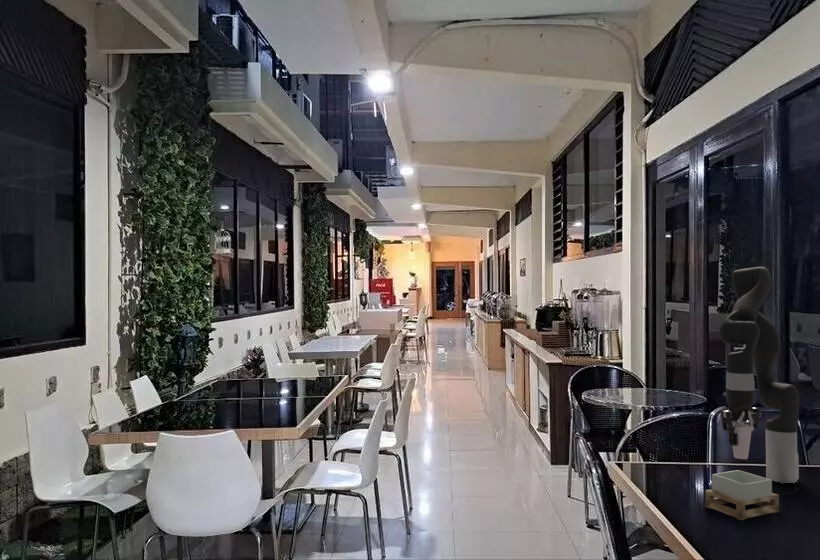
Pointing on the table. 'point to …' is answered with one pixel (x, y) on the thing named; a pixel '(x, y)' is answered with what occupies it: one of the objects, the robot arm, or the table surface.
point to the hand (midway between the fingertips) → (740, 443)
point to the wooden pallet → (741, 504)
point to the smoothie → (743, 441)
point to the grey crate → (742, 485)
